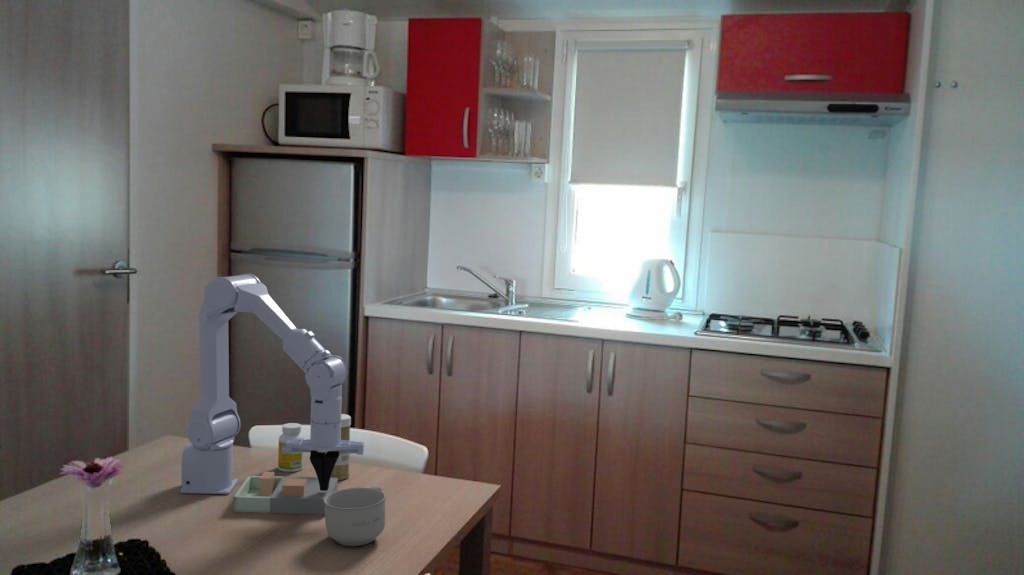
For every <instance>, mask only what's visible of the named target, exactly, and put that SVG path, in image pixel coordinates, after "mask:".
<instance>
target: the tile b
mask: <svg viewBox="0 0 1024 575" xmlns="http://www.w3.org/2000/svg"><path fill="white" fill-rule="evenodd" d="M306 490H307V479H288V478H287V479H286V480H285V482H284V484H283V486H282V496H304V494H305V492H306Z"/></svg>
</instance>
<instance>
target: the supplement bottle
mask: <svg viewBox="0 0 1024 575" xmlns="http://www.w3.org/2000/svg"><path fill="white" fill-rule="evenodd" d="M281 431H282V434H280V435H279V437H278V457H277V458H278V460H277V461H278V466H277V467H278V470H279V471H281V472H285V473H294V472H299V471H301V470H303V469H304V466H305V465H304V462H305V461H304V460H305V452H292V453H286V443H287V441H288V440H305V436H304V435H303V434H302V433H301V432H302V424H301V423H298V422H297V423H296V422H288V423H284V424H282V428H281Z"/></svg>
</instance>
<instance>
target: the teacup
mask: <svg viewBox="0 0 1024 575" xmlns="http://www.w3.org/2000/svg"><path fill="white" fill-rule="evenodd" d="M386 499H387V496H386V494H385V492H384V491H383V489H382V487H381V486H378V485H372V486H370V487H349V488H343V489H338V491H335V492H332V493H330V494H328V495H327V496H326V497H325V498H324V504H325V514H324V519H325V520H324V521H325V528H326V531H327V532H326V533H327V534H328V536H329V537H330V538H331V539H332V540H334V541H336V543H338V544H340V545H342V546H345V547H346V546H347V547H359V546H365V545H367V544H370V543H372V542H373V541H375V540H376V538H377V537H378V536H379V535H381V533H382V532H383V531H384V529H385V525H386Z"/></svg>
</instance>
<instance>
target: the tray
mask: <svg viewBox="0 0 1024 575" xmlns="http://www.w3.org/2000/svg"><path fill="white" fill-rule="evenodd" d="M261 476H262V475H248V477H246V479H245V480H244V482H243V483H242V484H241V486H240V488H239V489H238V490H237V491H236V493H235V494H234V496H233V498H232V499H233V502H232V503H233V504H232V505H233V506H232V508H233V509H232V510H233V511H232V512H233V513H243V514H245V513H247V514H254V513H255V514H271V513H270V497H259V493H260V477H261ZM282 477H283V476H275V475H274V491H275V489H276V487H277V486H278V484H279V482H280V481H281V479H282ZM271 496H272V495H271Z"/></svg>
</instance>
